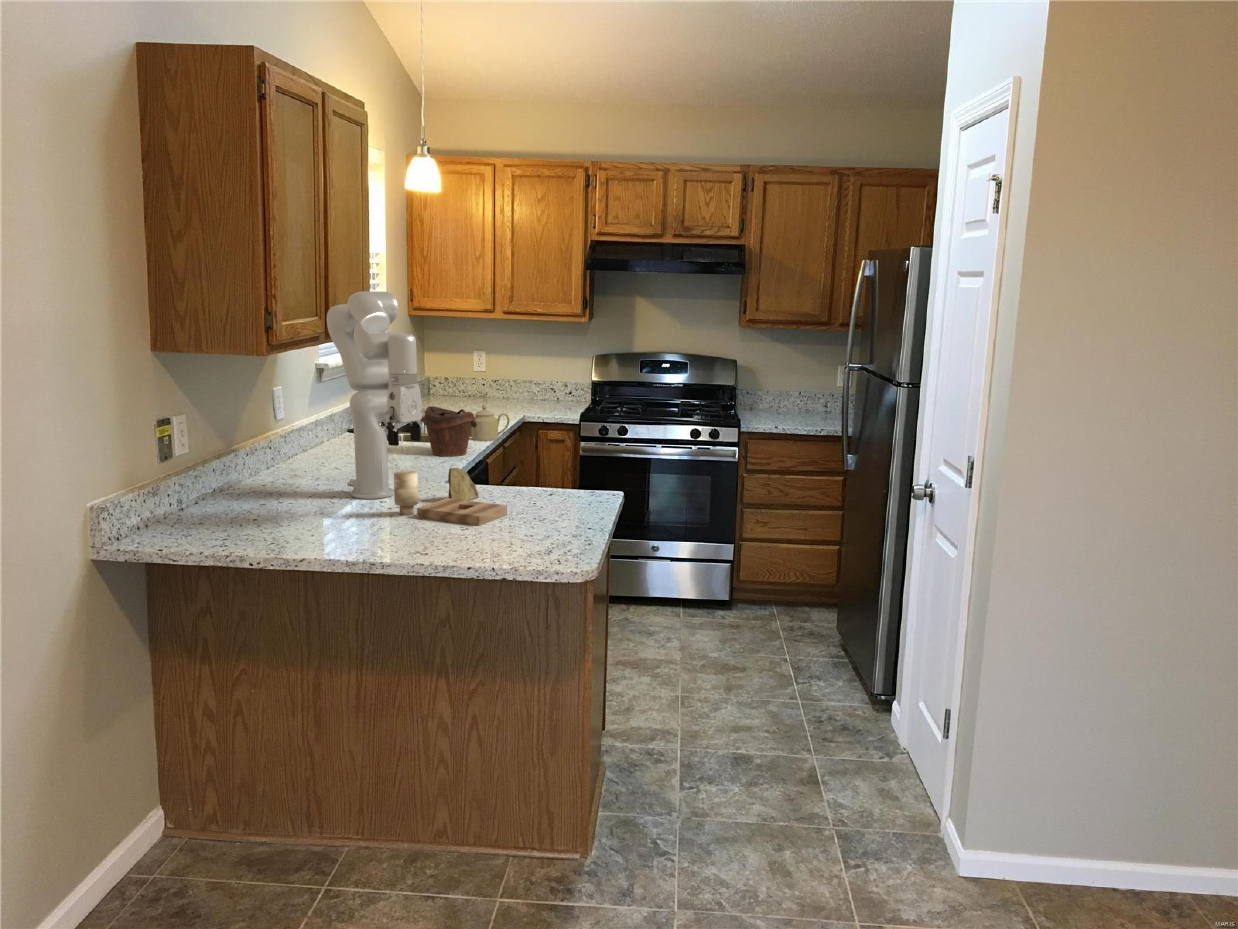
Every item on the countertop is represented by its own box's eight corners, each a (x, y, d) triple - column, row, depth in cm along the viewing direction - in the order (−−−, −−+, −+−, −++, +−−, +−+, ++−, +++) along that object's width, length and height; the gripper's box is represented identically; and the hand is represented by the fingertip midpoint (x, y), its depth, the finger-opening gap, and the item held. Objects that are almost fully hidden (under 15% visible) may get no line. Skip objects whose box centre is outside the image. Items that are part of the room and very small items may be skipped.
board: (417, 517, 255) (417, 508, 254) (447, 507, 267) (446, 498, 267) (479, 525, 247) (479, 516, 246) (507, 514, 259) (507, 505, 259)
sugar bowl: (497, 435, 401) (497, 401, 398) (511, 439, 392) (510, 403, 390) (466, 438, 392) (466, 403, 390) (479, 442, 384) (479, 405, 381)
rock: (476, 487, 284) (444, 484, 281) (483, 468, 279) (449, 465, 275) (479, 514, 277) (446, 512, 274) (486, 495, 271) (452, 493, 268)
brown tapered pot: (479, 456, 349) (478, 408, 346) (425, 459, 344) (423, 410, 341) (474, 449, 366) (473, 404, 363) (422, 451, 361) (420, 405, 358)
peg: (390, 515, 257) (388, 474, 255) (404, 510, 263) (403, 470, 261) (409, 517, 255) (407, 476, 252) (423, 512, 260) (422, 472, 258)
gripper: (393, 383, 243) (396, 448, 246) (433, 378, 258) (435, 439, 261) (370, 382, 246) (373, 446, 249) (411, 377, 261) (413, 437, 264)
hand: (404, 442), depth 255 cm, fingers open, 9 cm apart
